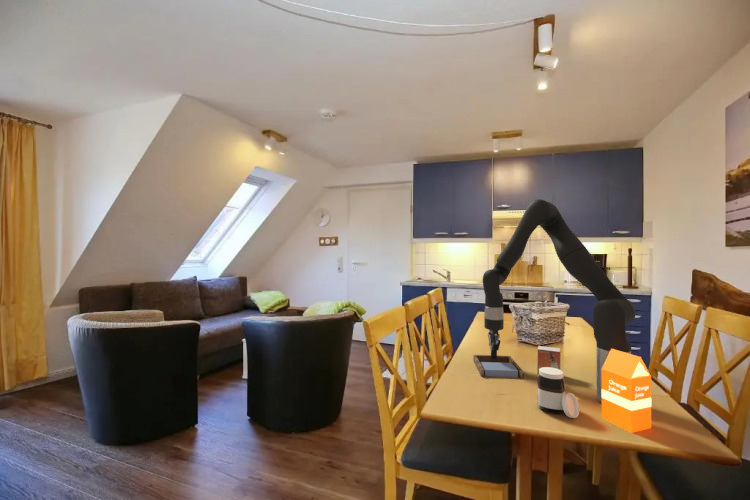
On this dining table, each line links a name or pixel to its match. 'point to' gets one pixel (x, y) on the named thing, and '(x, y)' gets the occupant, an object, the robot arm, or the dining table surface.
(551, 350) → the small box
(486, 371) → the cover plate
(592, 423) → the dining table surface
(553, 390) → the spread jar
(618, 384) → the orange juice
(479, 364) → the walnut tray
